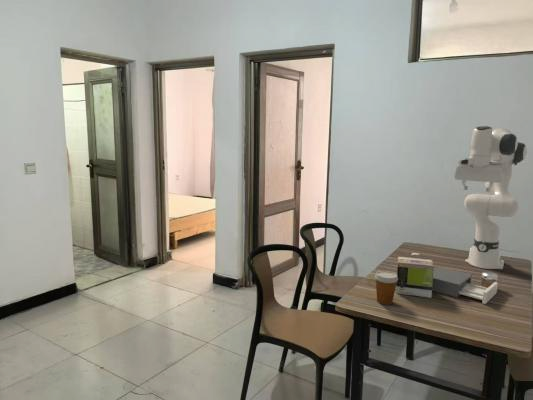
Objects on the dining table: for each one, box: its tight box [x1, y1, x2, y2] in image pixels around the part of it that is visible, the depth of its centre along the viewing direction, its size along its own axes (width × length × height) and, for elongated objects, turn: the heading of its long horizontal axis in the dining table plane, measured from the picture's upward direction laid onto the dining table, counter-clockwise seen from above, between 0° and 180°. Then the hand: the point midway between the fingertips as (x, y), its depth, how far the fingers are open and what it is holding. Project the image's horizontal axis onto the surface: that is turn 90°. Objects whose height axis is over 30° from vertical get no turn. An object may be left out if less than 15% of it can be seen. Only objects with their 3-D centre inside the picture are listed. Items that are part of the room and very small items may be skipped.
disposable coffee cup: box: [374, 270, 398, 305], centre depth 169 cm, size 10×10×12 cm
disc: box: [481, 271, 499, 281], centre depth 186 cm, size 6×6×2 cm
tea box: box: [395, 256, 435, 299], centre depth 180 cm, size 15×10×15 cm, turn 71°
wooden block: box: [480, 277, 498, 288], centre depth 187 cm, size 5×5×5 cm
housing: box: [432, 266, 473, 299], centre depth 187 cm, size 18×15×6 cm
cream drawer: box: [459, 282, 498, 305], centre depth 179 cm, size 17×15×5 cm
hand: (476, 190), depth 190 cm, fingers open, 8 cm apart
